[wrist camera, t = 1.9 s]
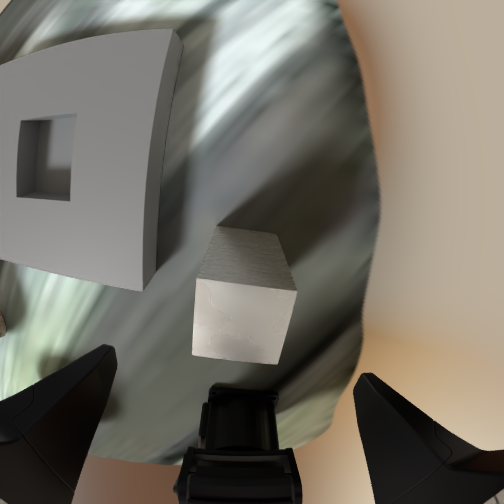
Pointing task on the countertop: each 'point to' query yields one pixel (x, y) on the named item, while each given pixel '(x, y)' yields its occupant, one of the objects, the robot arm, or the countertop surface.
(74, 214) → the square nut plate
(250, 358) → the beige rectangular block
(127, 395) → the countertop surface
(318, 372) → the countertop surface
